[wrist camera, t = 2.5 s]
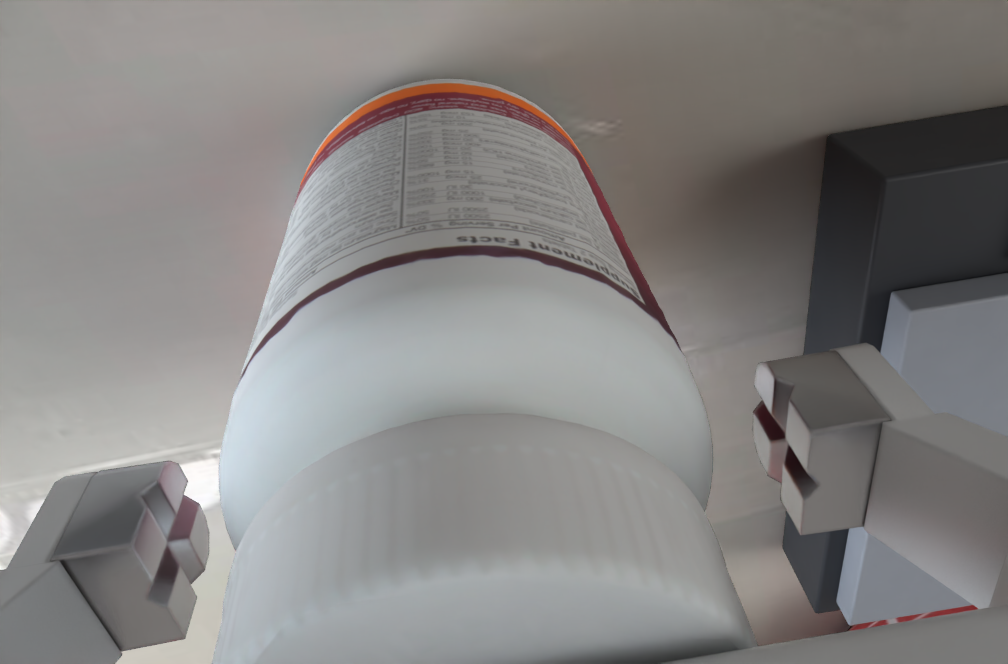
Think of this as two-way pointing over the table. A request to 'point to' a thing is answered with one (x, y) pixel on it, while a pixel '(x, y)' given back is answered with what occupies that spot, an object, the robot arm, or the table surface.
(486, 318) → the pill bottle
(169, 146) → the table surface
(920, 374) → the scale
